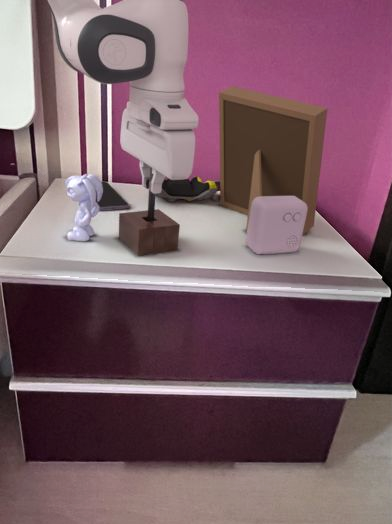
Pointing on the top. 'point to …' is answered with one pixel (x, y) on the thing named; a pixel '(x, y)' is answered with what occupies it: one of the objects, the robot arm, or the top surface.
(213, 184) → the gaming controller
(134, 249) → the pen block
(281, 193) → the photo frame
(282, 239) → the electronic device
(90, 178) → the toy figurine
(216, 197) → the wristwatch
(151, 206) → the stylus
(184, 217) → the top surface
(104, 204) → the smartphone
